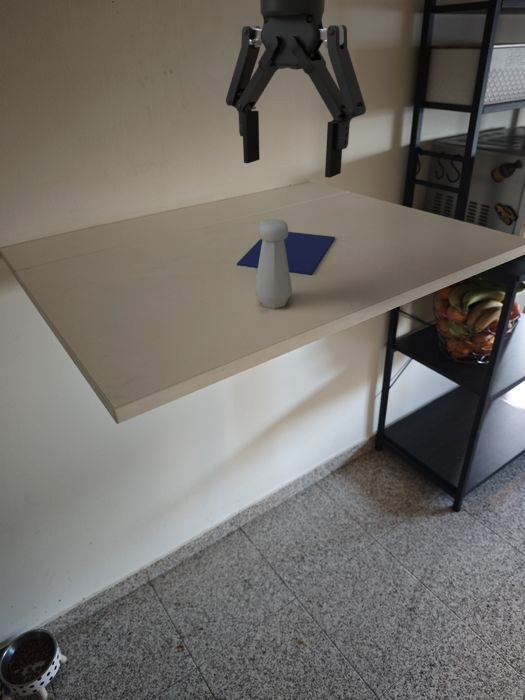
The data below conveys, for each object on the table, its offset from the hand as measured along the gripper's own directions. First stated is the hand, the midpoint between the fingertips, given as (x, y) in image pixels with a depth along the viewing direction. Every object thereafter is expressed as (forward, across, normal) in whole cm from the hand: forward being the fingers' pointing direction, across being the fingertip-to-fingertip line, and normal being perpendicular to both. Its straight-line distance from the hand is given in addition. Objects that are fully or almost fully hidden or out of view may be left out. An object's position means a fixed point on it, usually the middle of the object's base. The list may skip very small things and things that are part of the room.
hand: (290, 168), depth 69 cm
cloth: (+20, -11, +15) cm, 27 cm away
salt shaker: (+20, -1, -3) cm, 20 cm away
